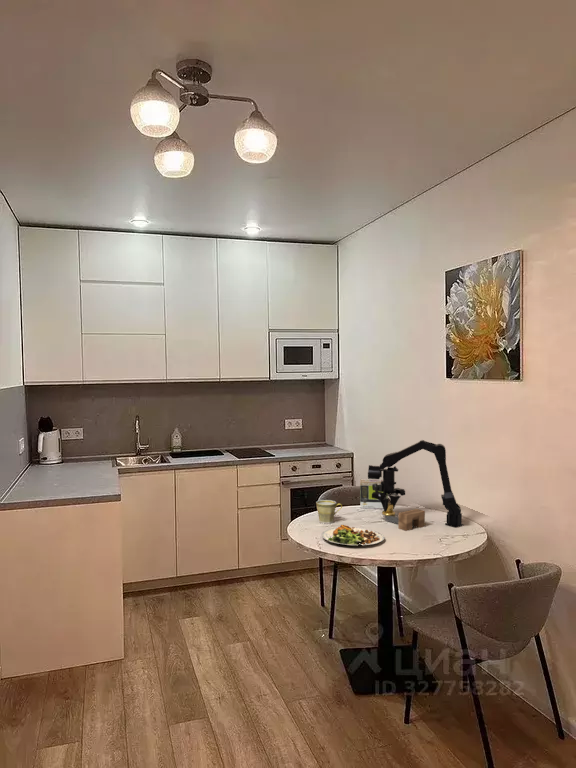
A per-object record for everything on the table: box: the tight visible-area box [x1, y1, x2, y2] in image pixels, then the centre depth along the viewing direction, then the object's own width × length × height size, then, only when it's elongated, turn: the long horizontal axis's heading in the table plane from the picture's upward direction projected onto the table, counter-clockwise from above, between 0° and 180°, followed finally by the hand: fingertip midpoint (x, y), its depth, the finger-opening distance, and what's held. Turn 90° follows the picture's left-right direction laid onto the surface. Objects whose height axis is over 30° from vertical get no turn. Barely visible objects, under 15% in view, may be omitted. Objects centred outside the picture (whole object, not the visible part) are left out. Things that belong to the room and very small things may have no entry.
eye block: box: [397, 508, 426, 531], centre depth 273 cm, size 5×13×8 cm, turn 126°
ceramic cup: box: [315, 499, 343, 525], centre depth 283 cm, size 13×10×10 cm
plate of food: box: [321, 524, 385, 546], centre depth 254 cm, size 28×28×6 cm
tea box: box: [359, 478, 389, 510], centre depth 315 cm, size 15×10×15 cm
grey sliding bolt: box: [381, 502, 415, 528], centre depth 281 cm, size 18×6×8 cm, turn 36°
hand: (388, 510), depth 286 cm, fingers closed on grey sliding bolt, 4 cm apart
